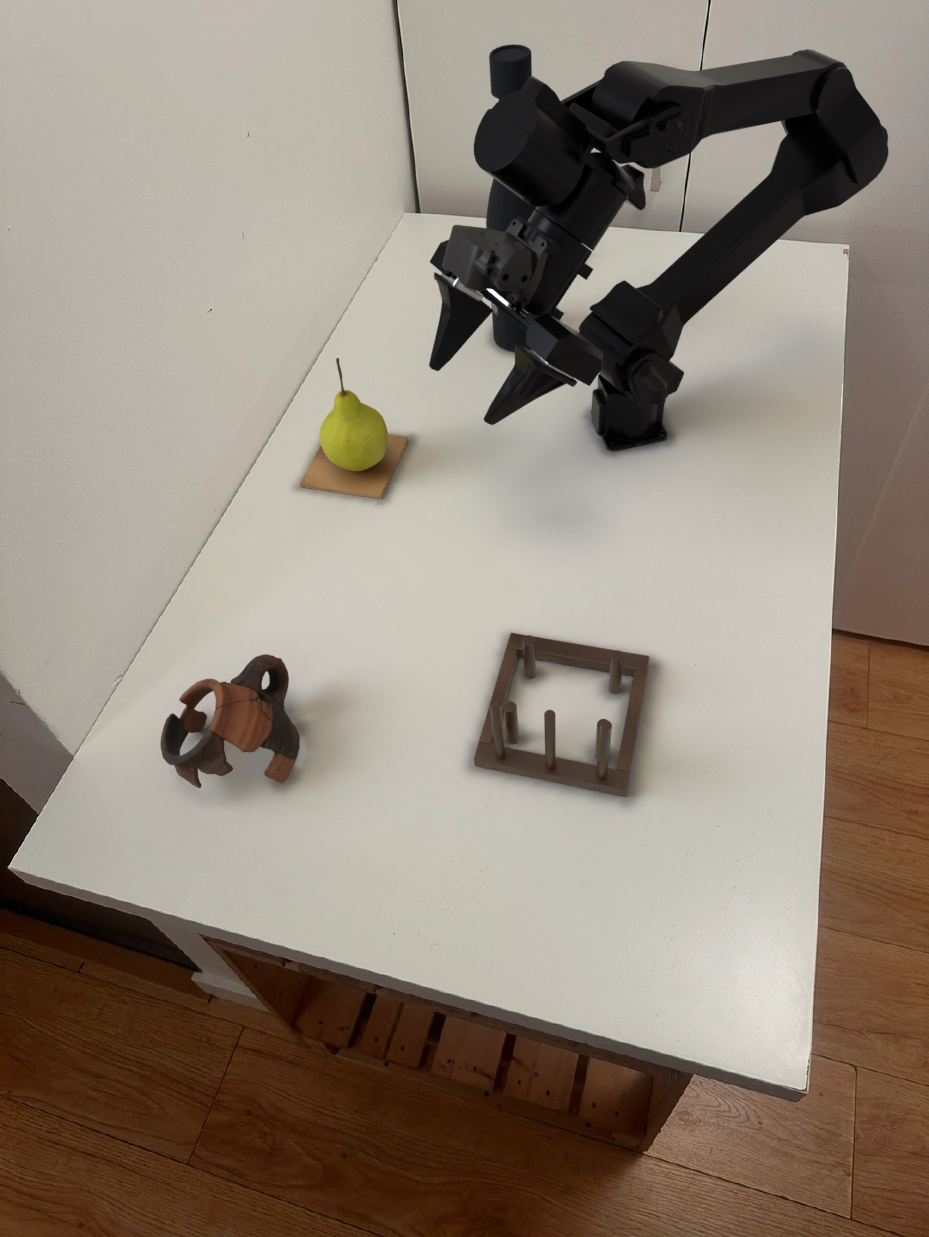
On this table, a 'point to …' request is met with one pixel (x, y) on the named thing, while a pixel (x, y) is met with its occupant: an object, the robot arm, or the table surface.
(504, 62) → the black bottle
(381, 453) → the fruit
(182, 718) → the broken clay pot
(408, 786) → the table surface
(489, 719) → the rack
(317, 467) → the mat
